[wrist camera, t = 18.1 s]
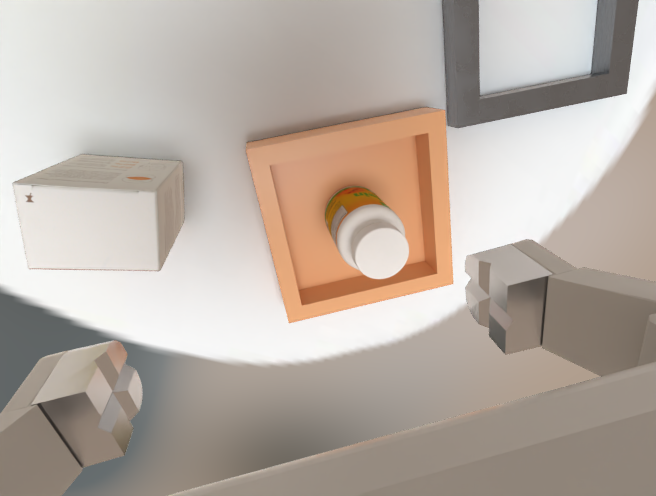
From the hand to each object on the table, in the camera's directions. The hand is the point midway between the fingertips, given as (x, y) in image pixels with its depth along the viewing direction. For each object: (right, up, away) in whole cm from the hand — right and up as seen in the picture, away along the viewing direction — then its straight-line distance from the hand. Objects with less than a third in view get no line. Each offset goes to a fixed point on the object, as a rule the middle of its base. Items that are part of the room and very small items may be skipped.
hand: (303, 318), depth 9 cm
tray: (+3, +5, +28) cm, 29 cm away
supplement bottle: (+3, +5, +28) cm, 28 cm away
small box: (-16, +7, +25) cm, 30 cm away
